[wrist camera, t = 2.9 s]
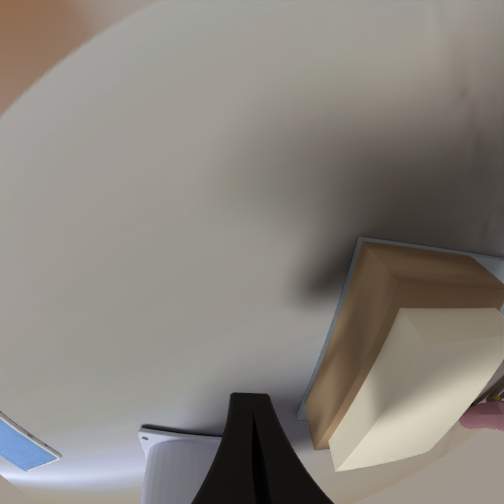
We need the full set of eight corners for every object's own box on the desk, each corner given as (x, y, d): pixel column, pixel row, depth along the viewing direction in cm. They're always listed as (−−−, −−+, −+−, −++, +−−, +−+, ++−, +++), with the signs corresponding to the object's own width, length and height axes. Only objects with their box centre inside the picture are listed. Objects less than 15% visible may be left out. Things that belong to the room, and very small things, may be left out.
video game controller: (500, 392, 25) (540, 407, 18) (484, 425, 24) (522, 443, 18) (473, 382, 22) (524, 402, 15) (453, 422, 22) (501, 447, 15)
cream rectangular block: (416, 427, 14) (427, 451, 12) (328, 441, 14) (335, 471, 12) (495, 307, 10) (519, 333, 9) (400, 308, 10) (424, 343, 8)
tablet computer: (-26, 384, 19) (-31, 392, 17) (65, 452, 23) (62, 461, 22) (-35, 419, 23) (-38, 425, 22) (28, 466, 28) (26, 473, 27)
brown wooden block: (395, 391, 18) (415, 434, 15) (303, 397, 18) (314, 450, 14) (465, 251, 14) (509, 289, 10) (358, 236, 13) (398, 282, 9)
